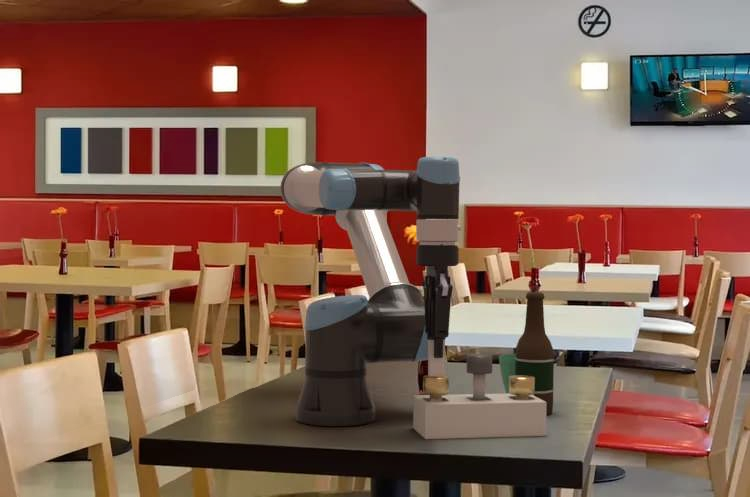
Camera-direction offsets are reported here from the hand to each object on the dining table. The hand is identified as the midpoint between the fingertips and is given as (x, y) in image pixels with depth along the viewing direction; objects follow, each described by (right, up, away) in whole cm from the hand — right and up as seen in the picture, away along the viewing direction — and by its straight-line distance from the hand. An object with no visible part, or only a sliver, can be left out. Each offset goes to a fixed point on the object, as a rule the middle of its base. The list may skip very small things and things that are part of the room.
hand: (436, 375), depth 193 cm
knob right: (+16, -9, +3) cm, 18 cm away
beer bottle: (+21, -10, +21) cm, 31 cm away
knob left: (0, -8, 0) cm, 8 cm away
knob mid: (+8, -5, +2) cm, 9 cm away
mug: (+21, -10, +33) cm, 40 cm away
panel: (+8, -10, +2) cm, 13 cm away
